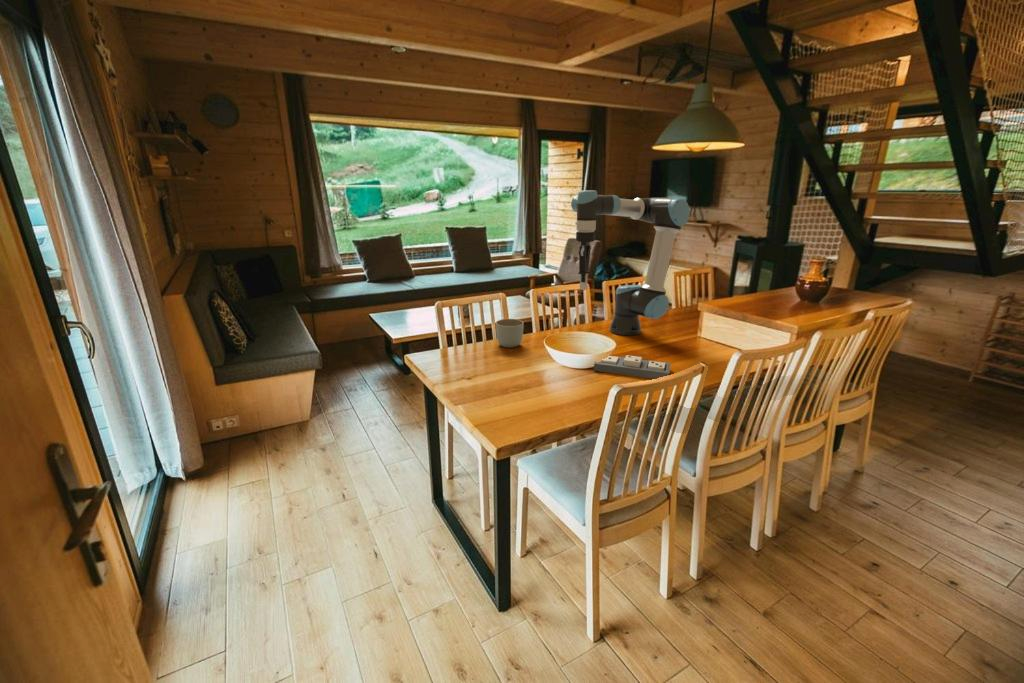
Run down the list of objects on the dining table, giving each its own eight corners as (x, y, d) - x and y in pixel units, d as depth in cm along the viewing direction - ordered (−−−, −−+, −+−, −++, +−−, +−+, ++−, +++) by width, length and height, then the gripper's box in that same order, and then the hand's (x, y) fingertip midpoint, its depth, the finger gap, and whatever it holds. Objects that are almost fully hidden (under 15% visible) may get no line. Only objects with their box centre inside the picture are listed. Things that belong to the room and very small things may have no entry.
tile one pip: (603, 360, 192) (603, 354, 191) (618, 362, 190) (618, 356, 189) (600, 365, 187) (600, 359, 186) (615, 367, 185) (616, 361, 184)
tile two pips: (625, 361, 188) (626, 354, 188) (641, 362, 186) (641, 356, 186) (623, 366, 183) (624, 359, 182) (639, 368, 181) (640, 361, 180)
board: (599, 361, 195) (599, 354, 194) (670, 370, 186) (670, 363, 185) (593, 370, 185) (594, 363, 184) (668, 380, 176) (669, 373, 175)
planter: (525, 341, 219) (525, 319, 216) (520, 350, 207) (521, 327, 204) (499, 340, 221) (498, 318, 218) (493, 349, 209) (493, 325, 206)
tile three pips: (648, 366, 186) (649, 360, 185) (664, 368, 184) (665, 362, 183) (647, 372, 180) (647, 365, 180) (663, 374, 178) (664, 367, 178)
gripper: (579, 229, 194) (577, 285, 201) (572, 232, 182) (570, 292, 190) (598, 229, 191) (595, 286, 199) (592, 233, 180) (589, 293, 187)
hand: (583, 289), depth 194 cm, fingers closed
